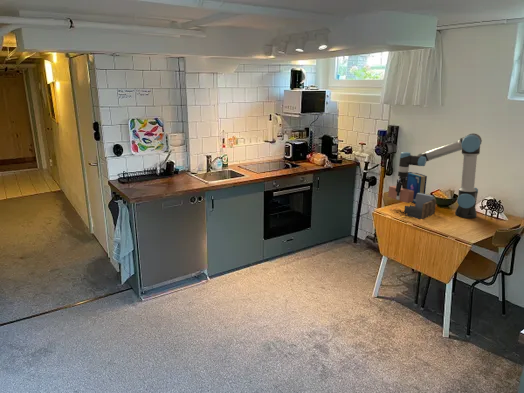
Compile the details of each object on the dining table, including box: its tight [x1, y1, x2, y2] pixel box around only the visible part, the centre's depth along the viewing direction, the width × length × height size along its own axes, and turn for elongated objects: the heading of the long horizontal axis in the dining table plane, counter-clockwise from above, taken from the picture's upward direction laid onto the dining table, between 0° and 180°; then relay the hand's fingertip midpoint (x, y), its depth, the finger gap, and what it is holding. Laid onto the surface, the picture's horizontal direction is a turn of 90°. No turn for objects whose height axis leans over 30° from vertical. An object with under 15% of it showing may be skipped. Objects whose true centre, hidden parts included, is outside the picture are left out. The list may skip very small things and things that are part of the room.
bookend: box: [403, 204, 422, 220], centre depth 308 cm, size 7×16×7 cm, turn 43°
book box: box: [387, 185, 414, 204], centre depth 322 cm, size 6×20×9 cm, turn 32°
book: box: [407, 171, 428, 204], centre depth 345 cm, size 22×7×25 cm, turn 17°
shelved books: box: [414, 193, 436, 208], centre depth 316 cm, size 6×12×15 cm, turn 43°
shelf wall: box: [420, 198, 437, 220], centre depth 307 cm, size 20×2×12 cm, turn 133°
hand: (400, 198), depth 323 cm, fingers closed on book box, 7 cm apart
